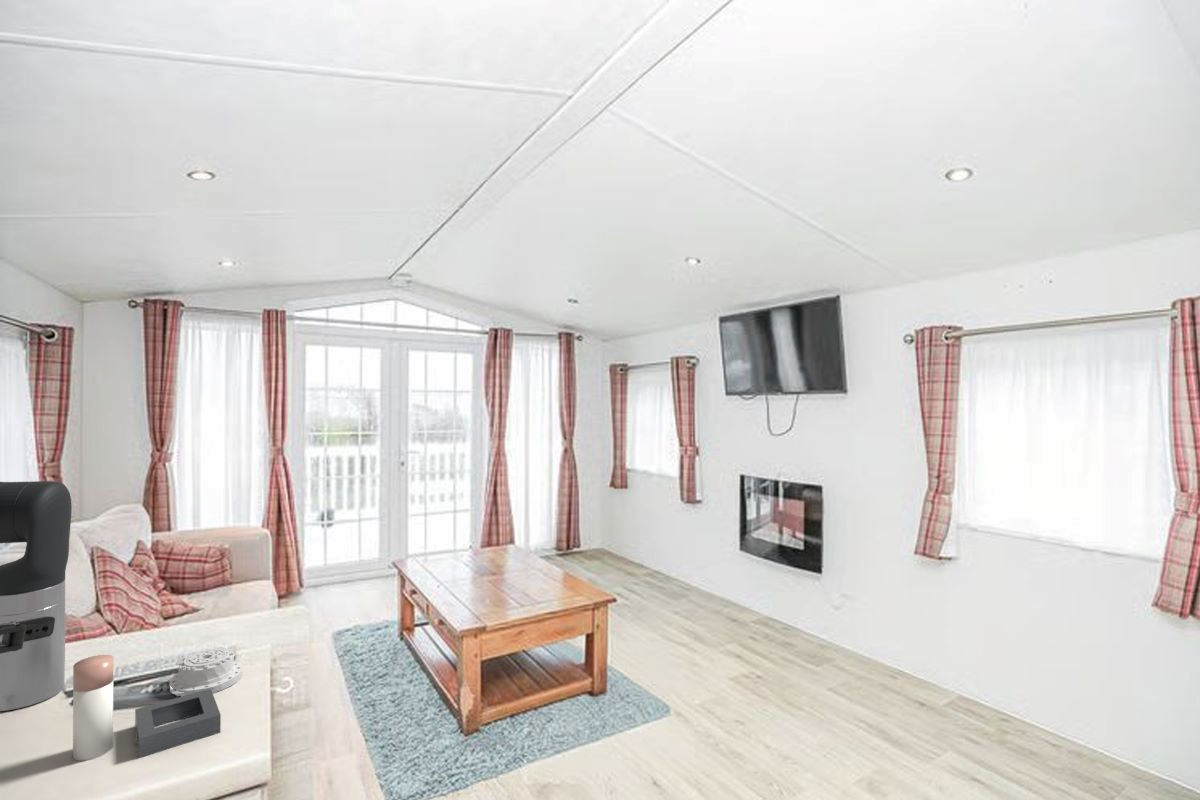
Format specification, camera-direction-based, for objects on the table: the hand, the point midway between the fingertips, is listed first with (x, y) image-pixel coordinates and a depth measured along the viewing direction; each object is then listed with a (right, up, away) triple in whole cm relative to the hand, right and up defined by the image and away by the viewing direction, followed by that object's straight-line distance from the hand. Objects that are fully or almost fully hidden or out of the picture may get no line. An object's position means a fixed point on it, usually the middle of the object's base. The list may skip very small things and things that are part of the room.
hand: (22, 623), depth 68 cm
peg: (+1, -20, +9) cm, 22 cm away
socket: (+8, -20, +14) cm, 26 cm away
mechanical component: (+3, -20, +27) cm, 34 cm away
